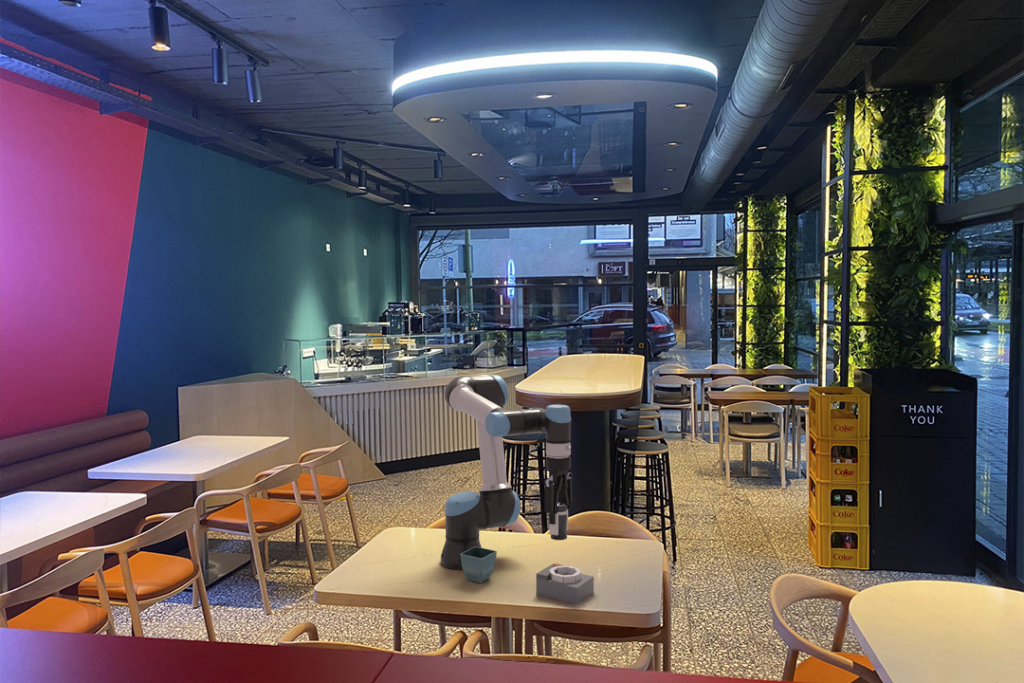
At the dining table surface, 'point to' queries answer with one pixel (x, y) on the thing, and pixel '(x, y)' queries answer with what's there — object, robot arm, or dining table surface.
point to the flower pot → (478, 563)
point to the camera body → (564, 583)
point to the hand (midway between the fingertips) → (558, 531)
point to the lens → (561, 522)
